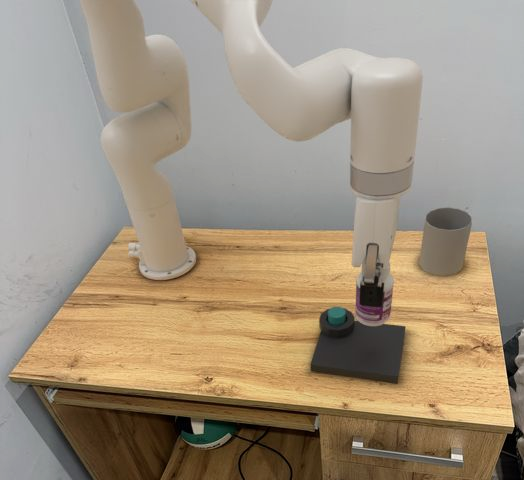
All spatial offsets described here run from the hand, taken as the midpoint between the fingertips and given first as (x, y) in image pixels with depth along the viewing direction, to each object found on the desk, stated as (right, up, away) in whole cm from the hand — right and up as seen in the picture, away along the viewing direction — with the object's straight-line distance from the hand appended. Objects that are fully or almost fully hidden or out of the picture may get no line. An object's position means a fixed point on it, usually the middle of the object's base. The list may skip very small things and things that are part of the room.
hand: (373, 291), depth 74 cm
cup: (+19, +9, +26) cm, 34 cm away
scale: (0, -9, +11) cm, 14 cm away
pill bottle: (+1, -4, +3) cm, 5 cm away
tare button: (-4, -4, +13) cm, 14 cm away
